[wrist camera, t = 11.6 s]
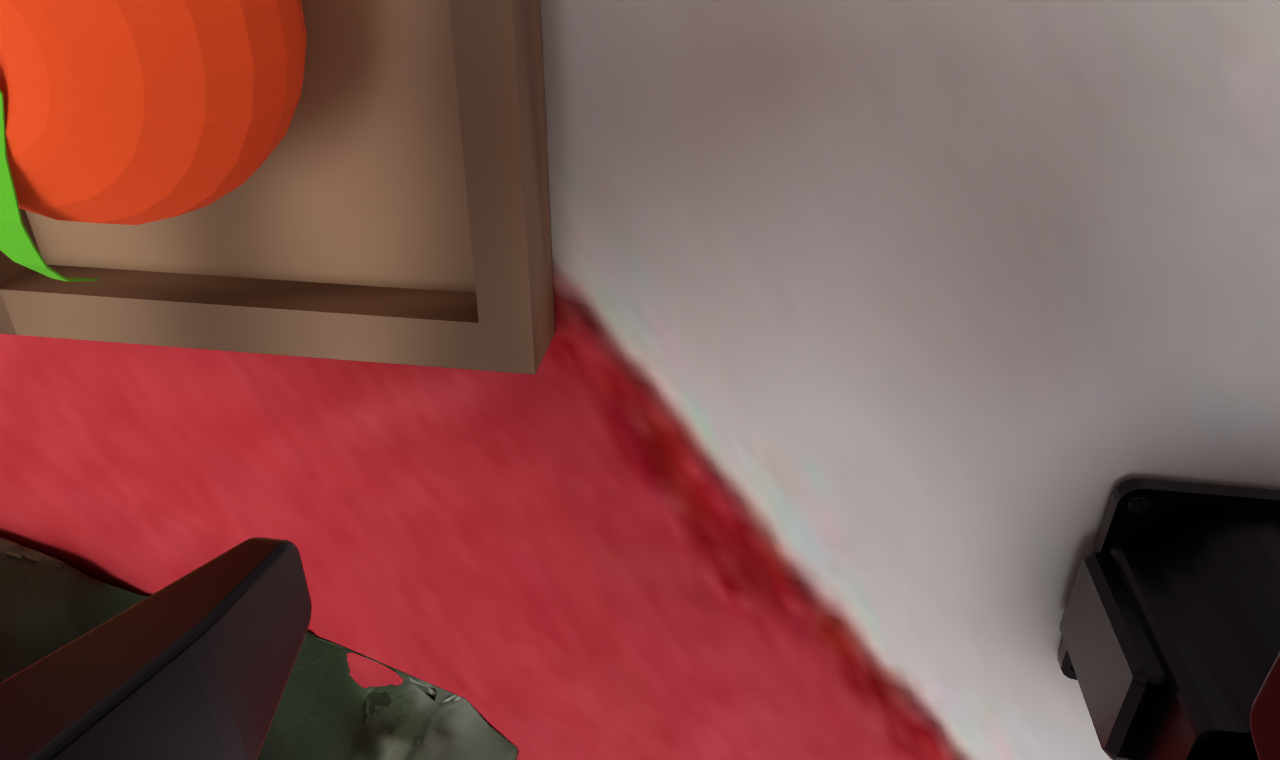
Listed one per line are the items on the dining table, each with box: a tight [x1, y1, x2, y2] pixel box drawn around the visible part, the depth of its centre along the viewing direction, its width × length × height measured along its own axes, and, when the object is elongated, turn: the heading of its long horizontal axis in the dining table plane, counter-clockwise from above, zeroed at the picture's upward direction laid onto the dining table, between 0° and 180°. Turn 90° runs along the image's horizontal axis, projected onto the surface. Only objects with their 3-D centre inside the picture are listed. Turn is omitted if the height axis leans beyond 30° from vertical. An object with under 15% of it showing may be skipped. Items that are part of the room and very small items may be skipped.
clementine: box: [0, 0, 307, 282], centre depth 16 cm, size 8×7×7 cm
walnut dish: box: [0, 0, 555, 374], centre depth 18 cm, size 14×14×2 cm
